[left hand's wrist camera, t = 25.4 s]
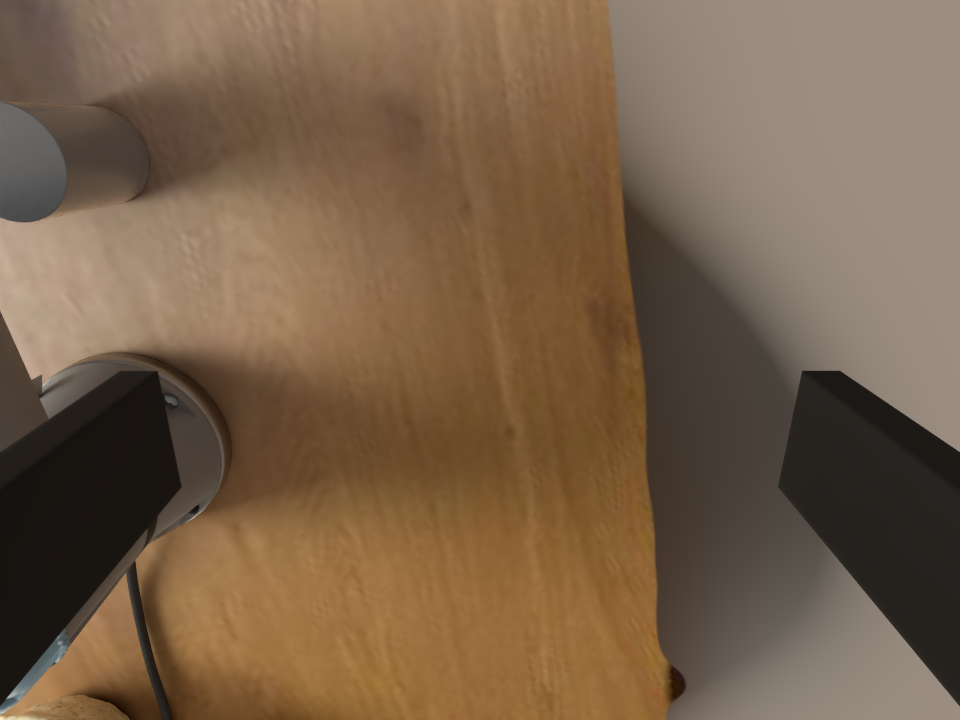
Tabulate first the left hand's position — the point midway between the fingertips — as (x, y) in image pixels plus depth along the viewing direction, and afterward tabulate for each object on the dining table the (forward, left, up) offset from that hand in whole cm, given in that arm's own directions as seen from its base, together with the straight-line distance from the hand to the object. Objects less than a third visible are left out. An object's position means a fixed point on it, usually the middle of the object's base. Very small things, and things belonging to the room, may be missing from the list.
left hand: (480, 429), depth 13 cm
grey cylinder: (+4, +26, -33) cm, 42 cm away
